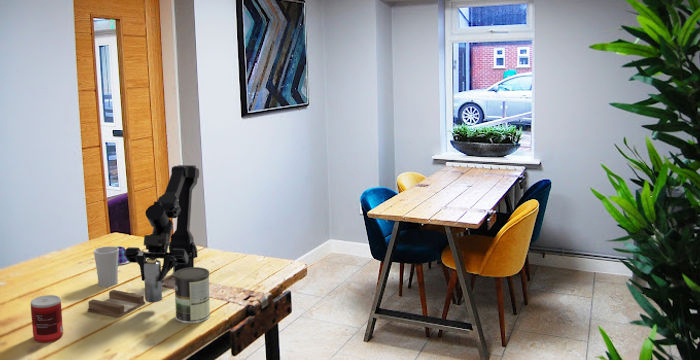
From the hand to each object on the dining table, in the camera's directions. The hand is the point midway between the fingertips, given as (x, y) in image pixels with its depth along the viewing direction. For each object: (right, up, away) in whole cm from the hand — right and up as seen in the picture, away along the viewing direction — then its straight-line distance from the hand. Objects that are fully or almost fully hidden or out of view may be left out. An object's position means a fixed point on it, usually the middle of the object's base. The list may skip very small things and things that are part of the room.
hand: (151, 280), depth 204 cm
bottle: (0, -6, +3) cm, 7 cm away
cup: (-22, -5, +25) cm, 34 cm away
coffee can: (+13, -11, -2) cm, 17 cm away
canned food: (-24, -13, -17) cm, 32 cm away
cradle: (-12, -9, +4) cm, 16 cm away
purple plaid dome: (-27, 0, +49) cm, 56 cm away
